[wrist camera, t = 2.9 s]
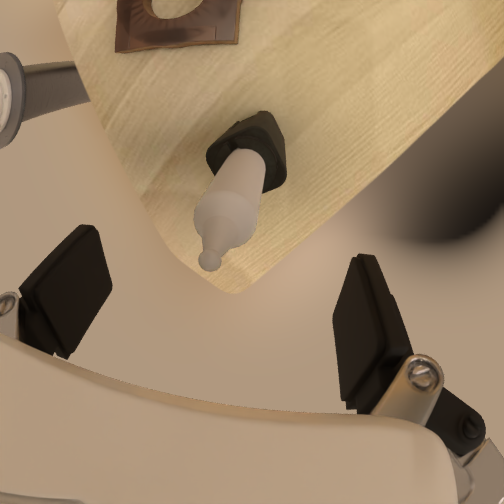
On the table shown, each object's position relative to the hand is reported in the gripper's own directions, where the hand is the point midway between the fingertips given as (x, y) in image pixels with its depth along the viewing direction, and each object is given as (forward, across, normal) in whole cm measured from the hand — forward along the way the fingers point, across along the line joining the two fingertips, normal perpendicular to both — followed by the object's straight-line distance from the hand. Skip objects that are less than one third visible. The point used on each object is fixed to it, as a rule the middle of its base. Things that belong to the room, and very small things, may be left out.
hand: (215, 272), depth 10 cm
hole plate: (+25, +11, -18) cm, 33 cm away
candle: (+25, +1, 0) cm, 25 cm away
